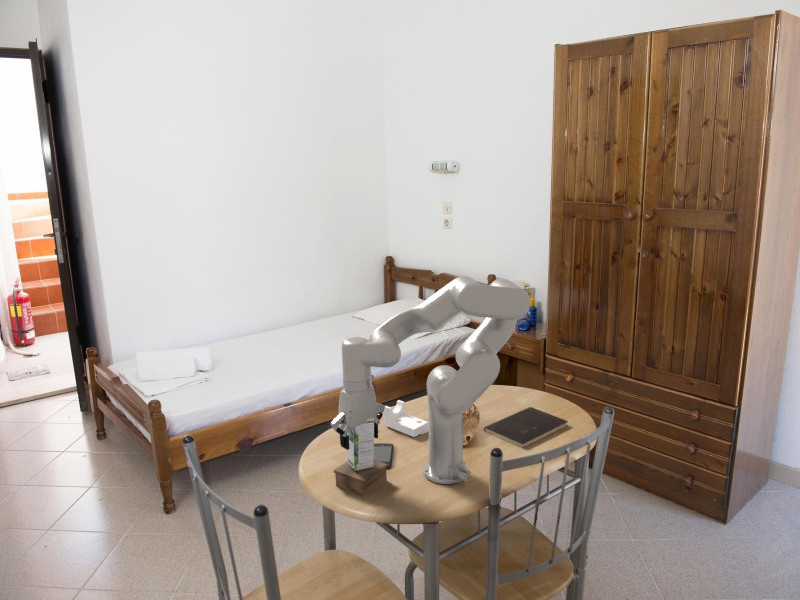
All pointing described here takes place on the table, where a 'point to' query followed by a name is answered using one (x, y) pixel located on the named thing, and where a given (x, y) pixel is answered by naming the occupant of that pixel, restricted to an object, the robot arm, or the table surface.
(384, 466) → the walnut box
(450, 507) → the table surface
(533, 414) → the hardcover book
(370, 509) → the table surface
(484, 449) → the table surface
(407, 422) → the bracket
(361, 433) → the syrup box
